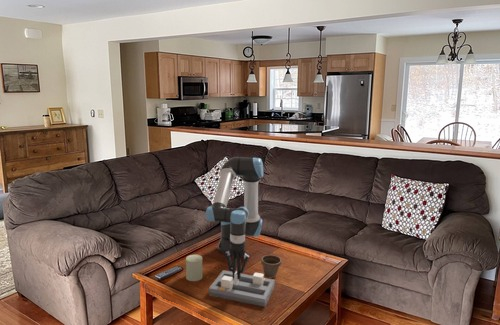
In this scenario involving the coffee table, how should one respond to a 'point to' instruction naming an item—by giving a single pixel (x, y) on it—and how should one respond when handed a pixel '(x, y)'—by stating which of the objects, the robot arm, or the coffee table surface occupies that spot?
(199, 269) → the can
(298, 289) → the coffee table surface
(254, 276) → the tab
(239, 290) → the switch bank
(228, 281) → the tab
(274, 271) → the flower pot
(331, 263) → the coffee table surface
